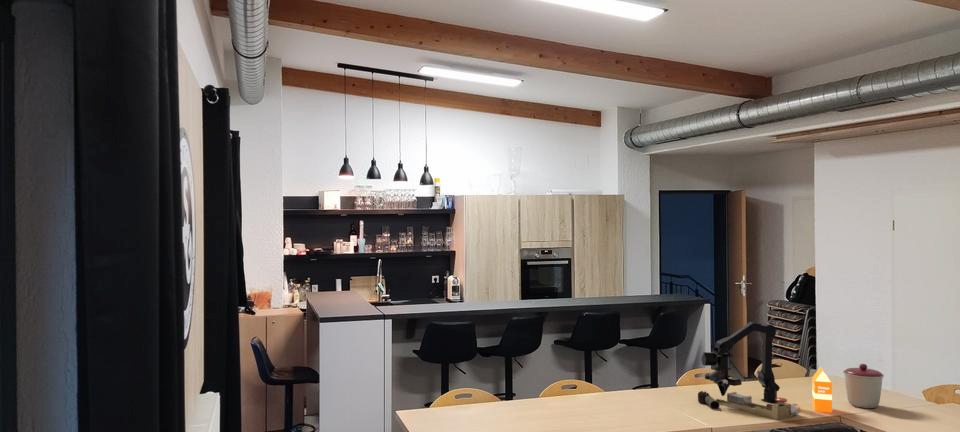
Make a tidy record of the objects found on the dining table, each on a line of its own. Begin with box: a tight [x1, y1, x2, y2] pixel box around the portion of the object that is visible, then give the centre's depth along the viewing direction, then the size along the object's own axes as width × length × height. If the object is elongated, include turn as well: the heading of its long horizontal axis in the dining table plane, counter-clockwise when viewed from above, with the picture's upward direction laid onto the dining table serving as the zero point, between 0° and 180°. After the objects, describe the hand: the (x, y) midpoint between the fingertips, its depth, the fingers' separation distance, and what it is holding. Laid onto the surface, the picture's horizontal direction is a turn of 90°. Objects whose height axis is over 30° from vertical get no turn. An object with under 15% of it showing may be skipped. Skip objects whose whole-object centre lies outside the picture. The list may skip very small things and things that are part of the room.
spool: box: [726, 391, 753, 407], centre depth 341 cm, size 6×10×6 cm, turn 31°
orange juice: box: [811, 366, 833, 413], centre depth 335 cm, size 8×9×20 cm
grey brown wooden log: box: [697, 390, 721, 410], centre depth 345 cm, size 18×7×6 cm, turn 1°
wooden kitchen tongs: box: [715, 397, 801, 421], centre depth 335 cm, size 16×36×9 cm, turn 31°
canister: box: [842, 363, 885, 409], centre depth 342 cm, size 18×18×21 cm
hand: (722, 395), depth 349 cm, fingers closed
